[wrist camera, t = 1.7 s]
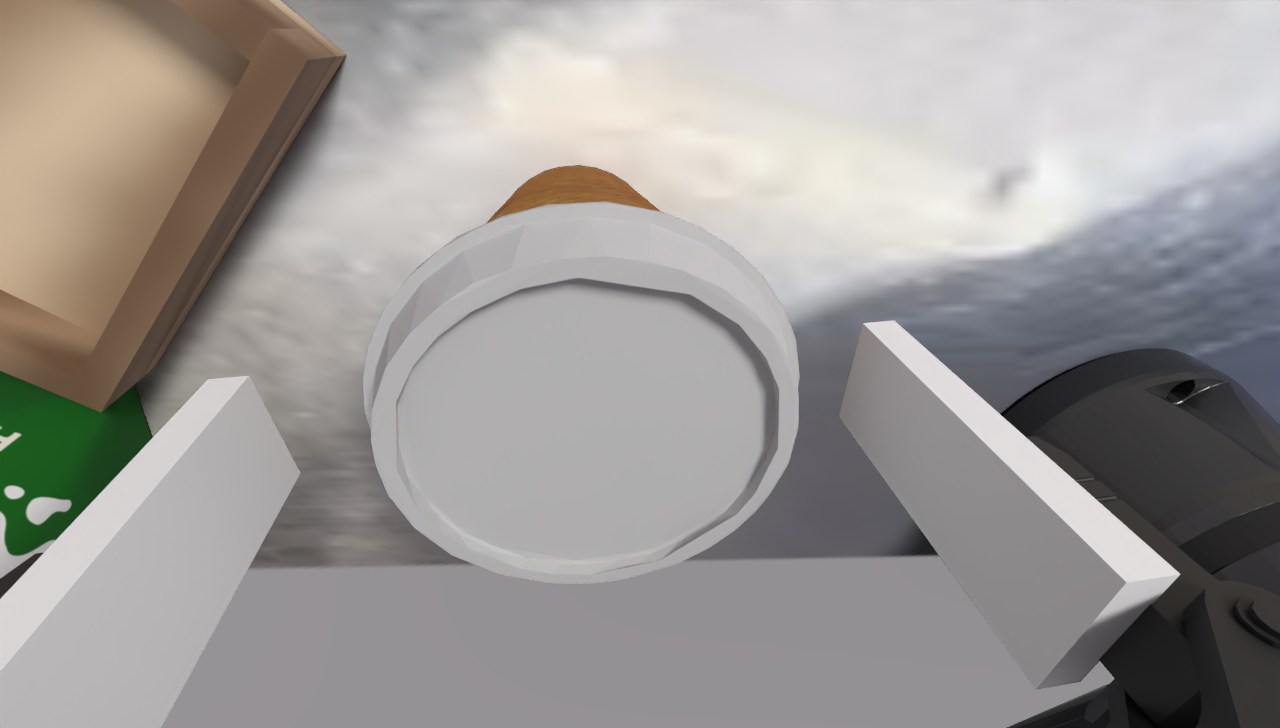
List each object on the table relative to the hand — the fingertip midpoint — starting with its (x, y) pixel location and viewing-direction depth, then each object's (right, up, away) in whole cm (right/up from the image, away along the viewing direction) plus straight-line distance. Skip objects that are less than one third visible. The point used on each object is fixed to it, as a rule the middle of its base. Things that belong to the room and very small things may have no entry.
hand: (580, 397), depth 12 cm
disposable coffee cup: (-1, +5, +9) cm, 11 cm away
